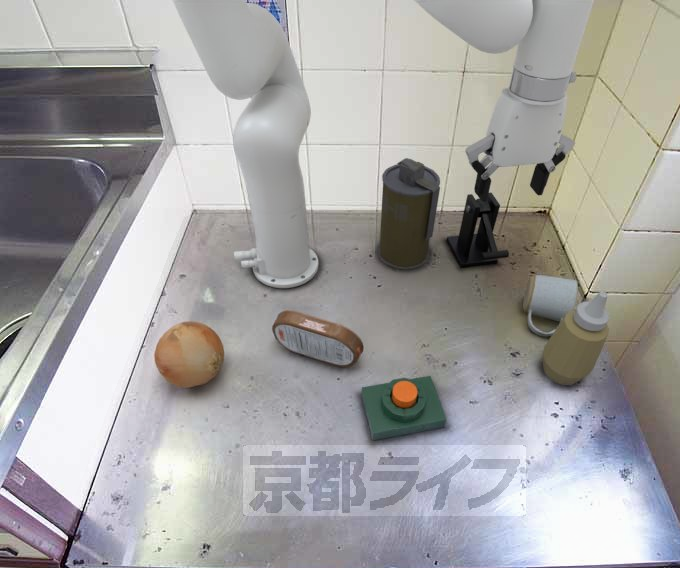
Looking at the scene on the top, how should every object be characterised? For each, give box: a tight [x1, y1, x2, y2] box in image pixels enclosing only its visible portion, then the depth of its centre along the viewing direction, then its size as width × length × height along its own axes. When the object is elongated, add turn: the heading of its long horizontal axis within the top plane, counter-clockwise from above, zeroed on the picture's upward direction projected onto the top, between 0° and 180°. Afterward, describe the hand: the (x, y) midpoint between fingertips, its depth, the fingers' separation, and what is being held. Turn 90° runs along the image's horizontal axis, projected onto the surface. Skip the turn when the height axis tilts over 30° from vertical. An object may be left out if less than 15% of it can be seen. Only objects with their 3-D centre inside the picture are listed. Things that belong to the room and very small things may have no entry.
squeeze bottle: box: [542, 291, 610, 386], centre depth 72 cm, size 8×8×18 cm
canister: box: [377, 157, 441, 270], centre depth 90 cm, size 11×10×20 cm
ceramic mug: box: [522, 274, 579, 337], centre depth 84 cm, size 11×8×8 cm
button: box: [392, 381, 417, 408], centre depth 69 cm, size 4×4×2 cm
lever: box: [475, 197, 510, 260], centre depth 89 cm, size 12×5×2 cm, turn 13°
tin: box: [271, 309, 364, 368], centre depth 75 cm, size 15×3×8 cm, turn 71°
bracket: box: [445, 192, 501, 269], centre depth 94 cm, size 9×8×13 cm
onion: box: [153, 320, 225, 388], centre depth 71 cm, size 10×10×10 cm
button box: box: [361, 375, 447, 441], centre depth 70 cm, size 11×8×4 cm
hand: (508, 193), depth 76 cm, fingers open, 9 cm apart
